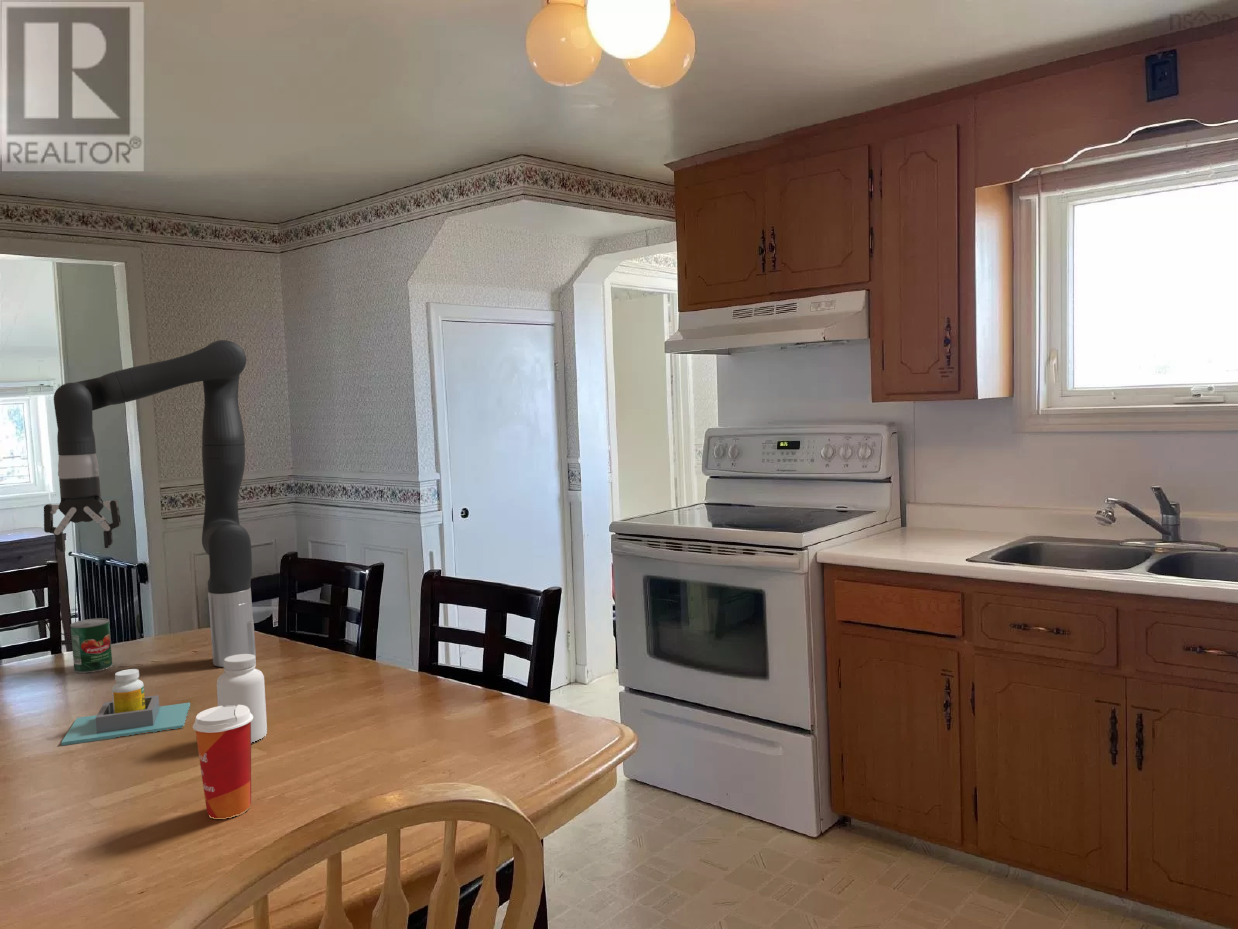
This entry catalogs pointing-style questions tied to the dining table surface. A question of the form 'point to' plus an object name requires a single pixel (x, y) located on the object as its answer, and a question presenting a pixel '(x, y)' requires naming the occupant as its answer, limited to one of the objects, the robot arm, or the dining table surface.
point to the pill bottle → (244, 690)
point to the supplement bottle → (128, 692)
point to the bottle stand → (126, 721)
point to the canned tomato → (91, 645)
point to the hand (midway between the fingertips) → (85, 549)
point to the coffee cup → (225, 758)
